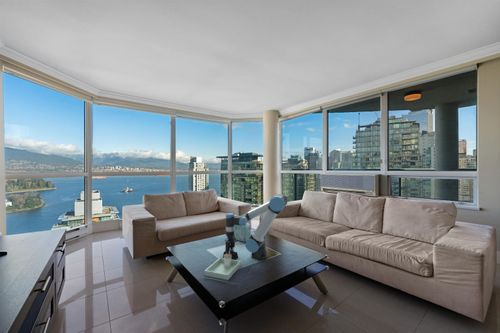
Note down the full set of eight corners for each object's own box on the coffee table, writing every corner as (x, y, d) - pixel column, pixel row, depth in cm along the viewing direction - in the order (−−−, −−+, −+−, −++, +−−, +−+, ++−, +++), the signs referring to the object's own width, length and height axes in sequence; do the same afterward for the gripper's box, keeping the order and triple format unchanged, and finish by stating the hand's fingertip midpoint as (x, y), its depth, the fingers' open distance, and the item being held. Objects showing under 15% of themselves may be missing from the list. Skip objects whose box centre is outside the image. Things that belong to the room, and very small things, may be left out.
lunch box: (229, 237, 244) (228, 219, 244) (235, 235, 251) (235, 217, 251) (244, 243, 225) (244, 223, 225) (251, 241, 232) (251, 221, 232)
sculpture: (233, 262, 182) (233, 244, 182) (221, 258, 189) (221, 242, 189) (239, 258, 189) (238, 242, 189) (227, 255, 196) (227, 239, 196)
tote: (241, 266, 174) (241, 260, 174) (227, 281, 152) (227, 275, 152) (220, 262, 181) (220, 257, 181) (204, 276, 159) (204, 270, 159)
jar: (233, 264, 175) (232, 254, 175) (229, 268, 169) (229, 257, 169) (226, 263, 177) (226, 253, 177) (222, 267, 171) (222, 256, 171)
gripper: (231, 227, 199) (231, 251, 200) (220, 233, 181) (221, 260, 181) (238, 228, 197) (238, 252, 197) (228, 234, 178) (229, 261, 178)
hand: (230, 256), depth 189 cm, fingers closed on sculpture, 7 cm apart
